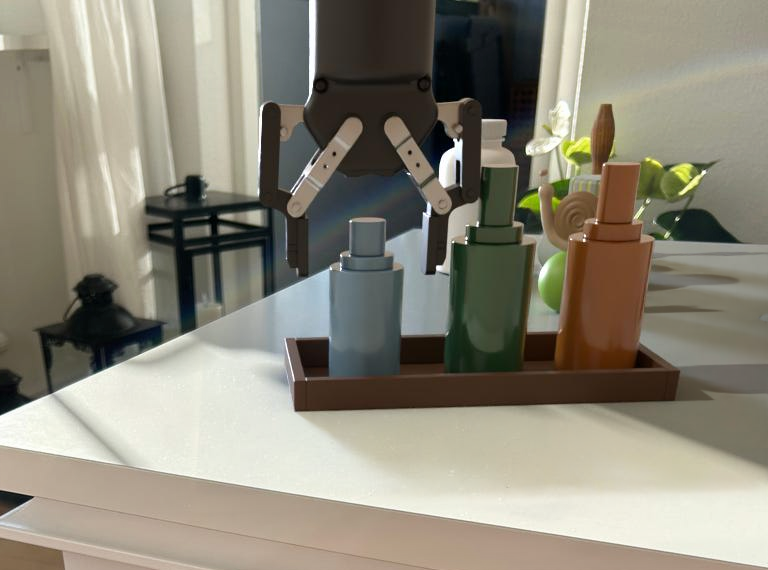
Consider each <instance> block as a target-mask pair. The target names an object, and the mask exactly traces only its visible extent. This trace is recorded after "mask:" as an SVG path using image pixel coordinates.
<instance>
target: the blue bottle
mask: <svg viewBox="0 0 768 570" xmlns="http://www.w3.org/2000/svg"><path fill="white" fill-rule="evenodd" d="M348 233H349V236H348V237H349V238H348V240H349V242H348V248H349V249H348V250H345V251H342V252H341V253H340V254H339V261H338V262H334V263H332V264H330V265H329V277H328V278H329V280H328V281H329V283H328V288H329V289H328V291H329V293H328V298H329V299H328V337H329V377H340V376H377V375H399V374H400V351H401V335H402V329H403V328H402V326H403V325H402V324H403V305H404V304H403V303H404V278H405V266H404V265H403V264H402V263H400V262H395V254H394V253H395V252H392V251H390V250H386V240H387V235H386V234H387V220H386V219H385V218H381V217H371V216H370V217H354V218H351V219H349V232H348Z"/></svg>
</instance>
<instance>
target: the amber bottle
mask: <svg viewBox="0 0 768 570" xmlns="http://www.w3.org/2000/svg"><path fill="white" fill-rule="evenodd" d="M641 168H642V164H641V163H640V162H633V161H608V162H606V163H603V165H602V173H601V181H600V189H599V196H598V204H597V212H596V218H591V219H587V220H585V221H584V229H583V232H580V233H575V234H572V235H570V236H569V239H568V247H567V256H566V264H565V273H564V281H563V290H562V298H561V306H560V312H559V315H558V324H557V331H558V332H557V340H556V349H555V357H554V366H553V371H562V370H599V369H635V365H636V359H637V352H638V346H639V342H640V339H641V332H642V326H643V320H644V314H645V308H646V307H645V306H646V300H647V294H648V289H649V288H648V287H649V282H650V276H651V270H652V264H653V256H654V250H655V244H656V238H655V237H654V236H652V235H649V234H644V233H643V229H644V221H643V220H641V219H636V218H634V216H635V210H636V201H637V195H638V188H639V182H640V175H641Z"/></svg>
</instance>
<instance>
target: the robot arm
mask: <svg viewBox="0 0 768 570" xmlns="http://www.w3.org/2000/svg"><path fill="white" fill-rule="evenodd" d="M436 2H437V0H309V90H308V94H307V98H306V100H305V101H304V104H303V105H302V104H300V105H299V104H284V103H283V104H282V103H276V102H275V101H274V100H266V101H264V102H263V103H262V104H261V106H260V108H259V109H260V110H259V114H260V115H259V139H258V169H257V170H258V172H257V173H258V174H257V197H258V201H259V202H260V204H261V205H262V206H264V207H266V208H269V209H273V210H275V211H277V212H280V213H282V214H283V215H284V217H285V257H286V258H285V259H286V260H287V264H288V266H289V268H290V269H295V274H296V276H297V278H309V217H308V215H307V214H306V211H307V210H308V208H309V207H310V205H311V204H312V202H313V201H314V200H315V199H316V197H317V195H318V194H319V192H320V191H321V190H322V189H324V187H325V186H326V184H327V183H328V182H329V180H330V178H331V177H332V175H333V174H334V172H336V173H337V174H339V175H341V176H344V177H345V178H360V177H363V176H366V175H369V174H371V175H374V176H379V177H387V178H389V177H395V175H398V174H399V173H401V172H402V171H404V172H405V173H406V175H407V177H408V178H409V180H410V181H411V182H412V184H413V185H414V186H415V188H416V190H417V191H418V192H419V194H420V195H421V197H422V198H423V200H424V201H425V203H426V205H427V206H426V211H423V212H422V227H421V247H420V272H421V273H422V275H424V276H435V275H436V273H437V270H436V266H443V264H444V262H445V259H446V253H447V238H448V222H449V216H450V214H451V212H452V211H453V210H454V209H456V208H458V207H460V206H463V205H465V204H472V203H475V202H476V201H477V200H478V199H479V197H480V180H481V134H482V119H483V106H482V104H481V103H480V102H479V101H478V100H477V99H474V98H471V97H463V98H461V99H459V100H458V101H449V102H436V99H435V96H434V93H433V88H432V87H433V84H432V83H433V66H434V65H433V64H434V63H433V61H434V42H435V23H436V7H437V3H436ZM438 121H440V122H441V123H442V124H443V126H444V132H445V135H446V136H448V138H451V139H453V140H454V139H455V142H454V148H455V170H454V184H453V185H451V186H448V187H446V188H443V186H442V184H441V183H440V181H439V177H438V176H437V174H436V172H435V170H434V169H433V167H432V166H431V164H430V162H429V161H428V159H427V157H426V156H425V154H424V153H423V152H422V150H421V149H420V147H422V145H423V144H424V142H425V140H426V139H427V137H428V136H429V135H430V133H431V132H432V130H433V129H434V127H435V126H436V124H437V123H438ZM301 123H302V124H303V125H304V128H305V130H306V131H307V133H308V134H309V135H310V137H311V138H312V140H313V141H314V143H315V145H316V146H317V150H316V151H315V153H314V154H313V156H312V157H311V159H310V160H309V162H308V164H307V165H306V166H305V168H304V169H303V171H302V173H301V175H300V176H299V178H298V180H297V181H296V183H295V184H294V186H293V187H292V188H291V190H288V189H284V188H282V187H279V178H280V177H279V171H280V153H281V152H280V151H281V149H280V148H281V147H280V146H281V143H284V142H288V141H289V140H290V139H291V138H292V135H293V131H294V128H295V127H296V126H297V125H299V124H301Z"/></svg>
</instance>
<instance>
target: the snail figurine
mask: <svg viewBox="0 0 768 570" xmlns="http://www.w3.org/2000/svg"><path fill="white" fill-rule="evenodd" d="M548 173H549V172H548V170H547V168H544V169H540V171H539V176H540V181H542V183H540V186H539V187H538V195H537V196H538V199H539V210H540V221H541V225H542V231H543V233H544V234H545V236H546V238H547V240H548V241H549V242H550V243H551V244H552V245H553V246H555V247H556V248H558V249H560V250H561V251H562V252H560V253H557V254H556V255H554V256H552V257H551V258H550V259H549V260H548V261H547V262H546V263H545V265H544V266H543V267H542V268H541V269H540V272H539V275H538V281H537V287H538V293H539V295H540V298H541V300H542V302H543V303H544V304H545V305H546V306H547V307H548V308H550V309H551V310H553V311H556V312H557V313H558V312H559V313H560V306H561V298H562V290H563V281H564V273H565V264H566V256H567V247H568V239H569V236H570V235H572V234H575V233H580V232H583V229H584V221H585V220H587V219H591V218H596V212H597V204H598V197H596V196H595V195H594V194H592V193H590V192H586V191H577V192H573V193H571V194H569V195H568V194H567V195H566V196H565V197H564V198H562V200H560V202H559V203H558V205H557V206H556V208H555V211H554V205H553V198H554V195H555V189H554V186H553V185H552V184H551V183H548V182H547V183H544V182H545V177H546V176H547V175H548Z"/></svg>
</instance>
